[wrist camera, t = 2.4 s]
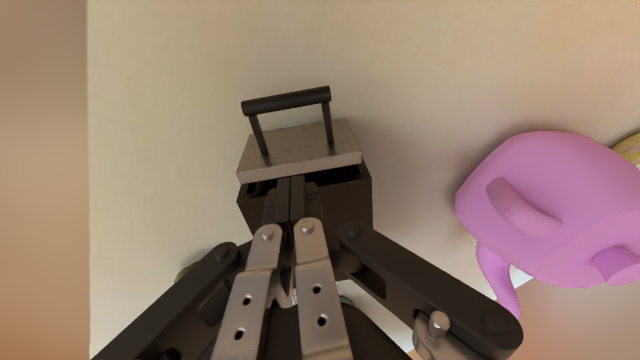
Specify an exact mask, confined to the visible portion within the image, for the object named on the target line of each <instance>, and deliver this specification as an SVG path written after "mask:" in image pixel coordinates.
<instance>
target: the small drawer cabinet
mask: <svg viewBox="0 0 640 360" xmlns="http://www.w3.org/2000/svg"><path fill="white" fill-rule="evenodd" d="M361 161H362V163H360V164H354V165H350V166H351V169H352V172H353V175H354V176H349V177H343V178H338V179H332V180H326V181H320V182H315V184H316V185H317V186H318V190H319V195H320V200H321V205H322V212H323V220H324V222H325V223H326V224H327V225H329V226H332V227H339V228H340V227H341V226H342V225H343V224H345V223H346V222H350V221H359V222H362V223H364V224H365V225H367V226H369V227H370V228H372V229H373V210H372V178H371V176H370V174H369V171H368V169H367V167H366V165H365V162H364V160H363V158H362V156H361ZM256 183H257V182H252V183H246V184H241V187H240V191H239V194H238V197H237V201H236V202H237V204H238V206H239V208H240V210H241V212H242V214H243V217H244V219H245V221H246V223H247V225H248V227H249V229H250V231H251V233H252V235H253V237H254V234H255V232H256V231H257V230H258V229H259V228H260V227H261V226H262V219H263V213H264V208H265V207H264V206H265V200H266V195H267V194H268V192H269V191H270V190H269V191H263V192H257V193H254V192H255V188H256ZM293 262H294V277H293V288H296V278H295V265H296V264H297V263H296V252H293ZM333 274H334V278H335V281H341V280H347V279H350V278H349V277H348V276H347V275H346V274H345V272H341V271H334V270H333Z"/></svg>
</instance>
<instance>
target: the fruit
mask: <svg viewBox="0 0 640 360" xmlns="http://www.w3.org/2000/svg"><path fill="white" fill-rule="evenodd" d="M611 150H613V151H614V152H616V153H617V154H619V155H620V156H622V157H623V158H625V159H626V160H627V161H629V162H630V163H632V164H633V165H634V166H635V165H638V164H640V133H637V134H635V135H633V136H631V137H629V138H627V139H625V140H623V141H622V142H620V143H618V144H617V145H615V146H614V147H613V148H611Z"/></svg>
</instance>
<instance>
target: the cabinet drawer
mask: <svg viewBox="0 0 640 360" xmlns="http://www.w3.org/2000/svg"><path fill="white" fill-rule="evenodd" d="M330 101H331V92H330V87H329V86H323V87H317V88H312V89H306V90H301V91H295V92H290V93H284V94H279V95H273V96H268V97H262V98H257V99H251V100H246V101H242V102H241V107H242V111H243V114H244V115H245V116H246V117H247V116H249V120H250V123H251V126H252V129H253V132H254V134H253V135H249V138H248V140H247V143H246V146H245V149H244V152H243V154H242V157H241V160H240V163H239V166H238V168H237V171H236V175H237V177H238V179H239V182H240V184H246V183H252V182H257V183H256V188H255V192H254V193H257V192H263V191H269V190H270V189H274V188H277V183H278V179H282V178H288V177H293V176H299V175H304V178H305V182H306V183H308V182H314V183H315V182H320V181H326V180H332V179H338V178H343V177H349V176H354V175H353V172H352V169H351V166H350V165H354V164H360V163H362V161H361V150H360V148H359V146H358V144H357V142H356V140H355V137H354V135H353V133H352V131H351V129H350V127H349V125H348V122H347V120H346V118H342V119H336V120H331V115H330V107H329V102H330ZM319 103H321V105H322V112H323V118H324V122H319V123H314V124H308V125H303V126H297V127H292V128H286V129H280V130H275V131H269V132H264V133H262V130H261V127H260V123H259V120H258V117H257V115H258V114H263V113H269V112H274V111H280V110H285V109H291V108H297V107H302V106H308V105H313V104H319Z"/></svg>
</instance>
